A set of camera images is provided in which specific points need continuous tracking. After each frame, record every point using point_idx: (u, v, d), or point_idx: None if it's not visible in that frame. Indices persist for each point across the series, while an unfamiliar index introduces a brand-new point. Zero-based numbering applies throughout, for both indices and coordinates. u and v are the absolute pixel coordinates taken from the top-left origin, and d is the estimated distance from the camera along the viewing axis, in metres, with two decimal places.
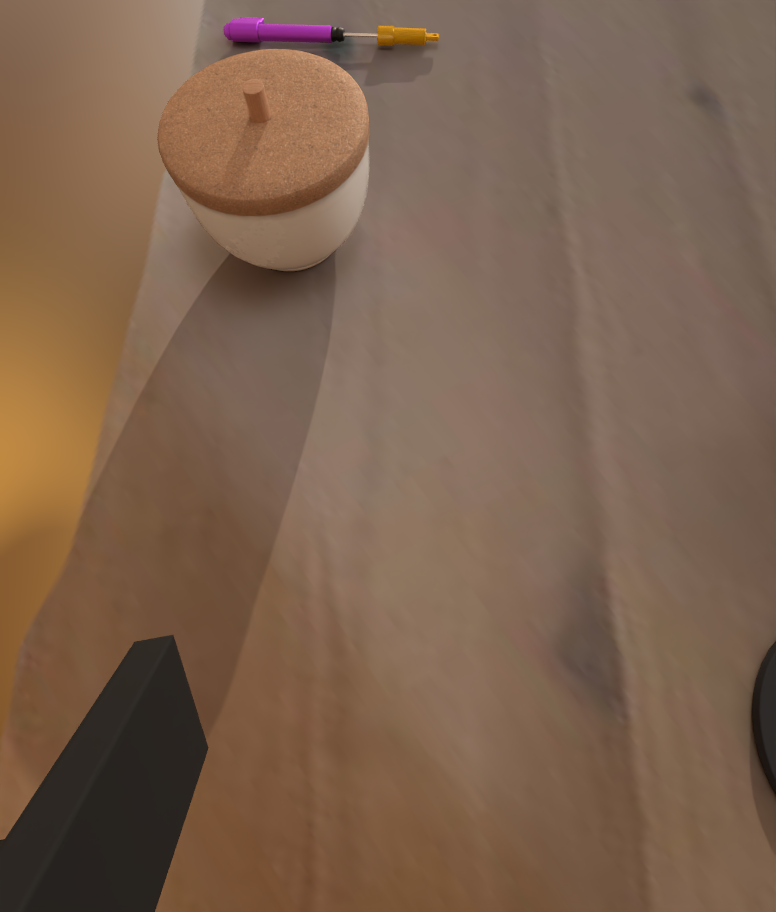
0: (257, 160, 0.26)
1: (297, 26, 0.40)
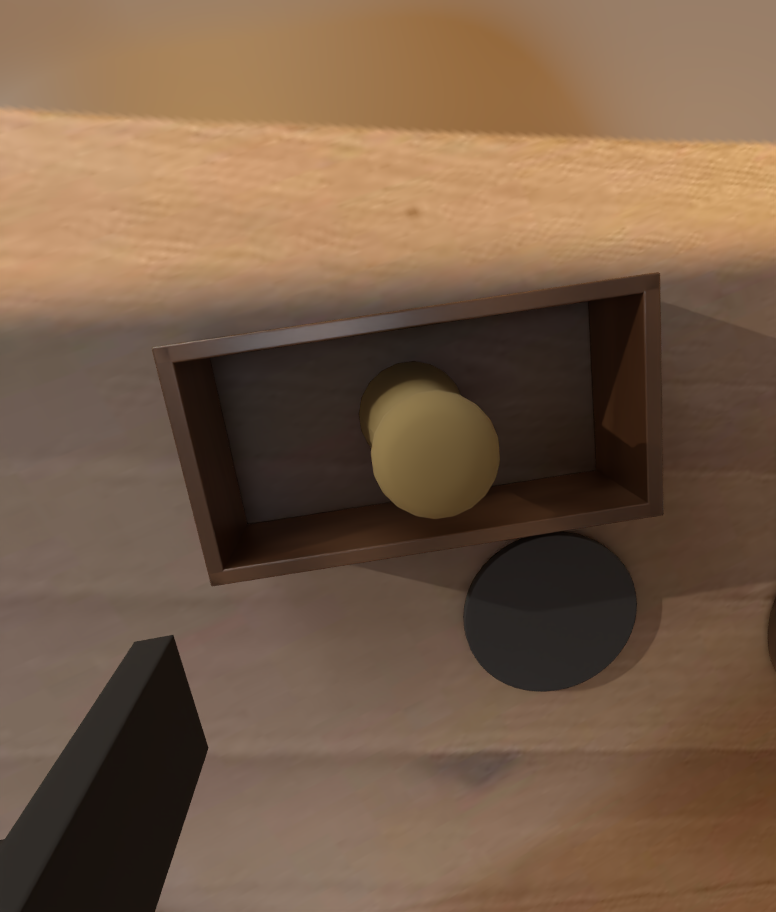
0: None
1: None
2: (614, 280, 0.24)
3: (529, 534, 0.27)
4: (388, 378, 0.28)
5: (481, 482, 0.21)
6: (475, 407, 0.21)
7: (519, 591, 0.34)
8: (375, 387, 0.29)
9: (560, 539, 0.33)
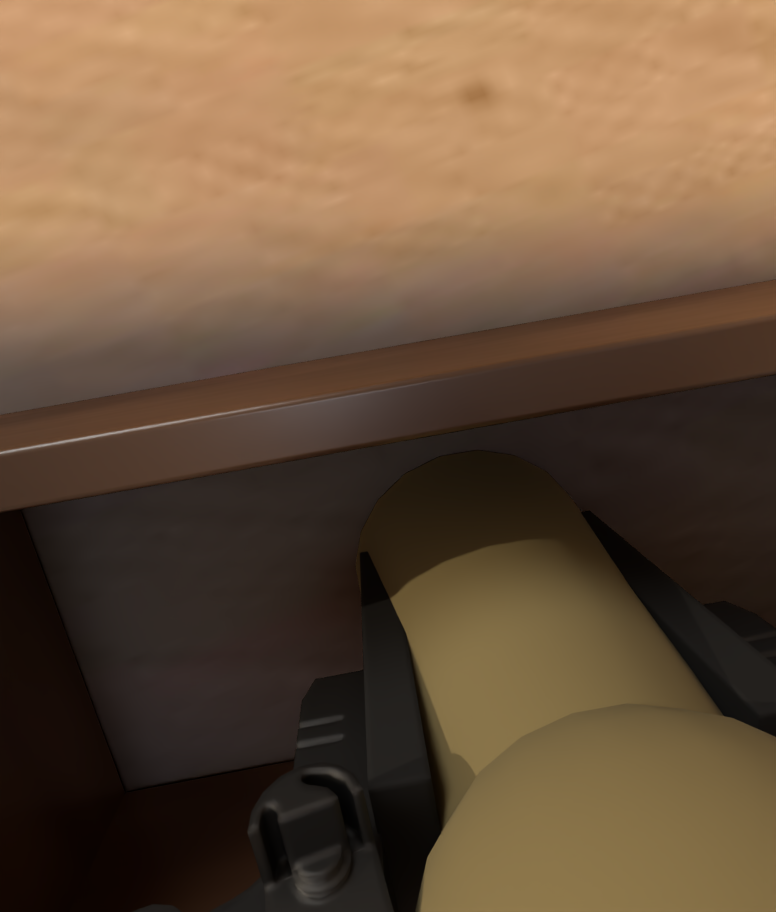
0: None
1: None
2: None
3: None
4: (426, 511, 0.11)
5: None
6: None
7: None
8: (393, 528, 0.12)
9: None
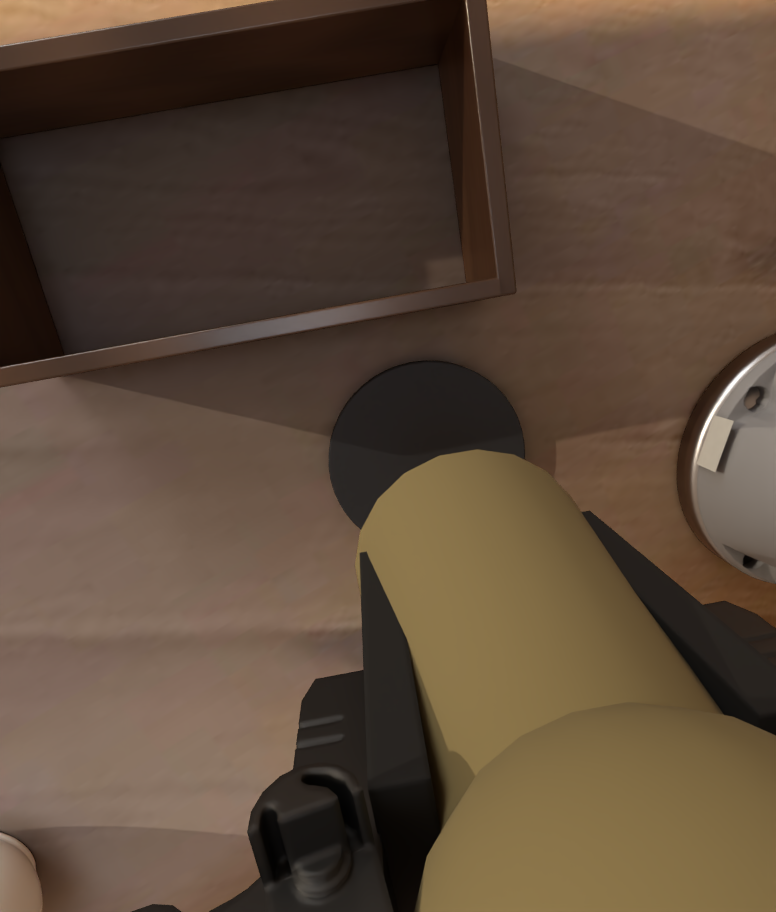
0: None
1: None
2: None
3: (358, 318, 0.23)
4: (426, 510, 0.11)
5: None
6: None
7: (388, 431, 0.29)
8: (393, 527, 0.12)
9: (430, 366, 0.29)
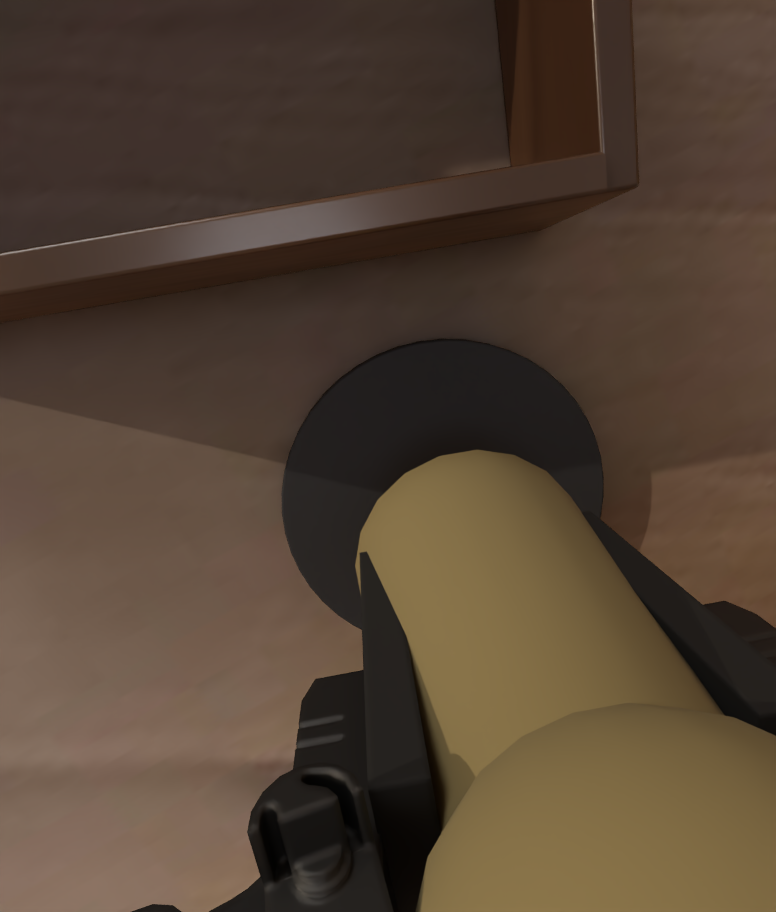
0: None
1: None
2: None
3: (311, 235, 0.11)
4: (426, 510, 0.11)
5: None
6: None
7: (380, 456, 0.18)
8: (393, 527, 0.12)
9: (451, 347, 0.17)
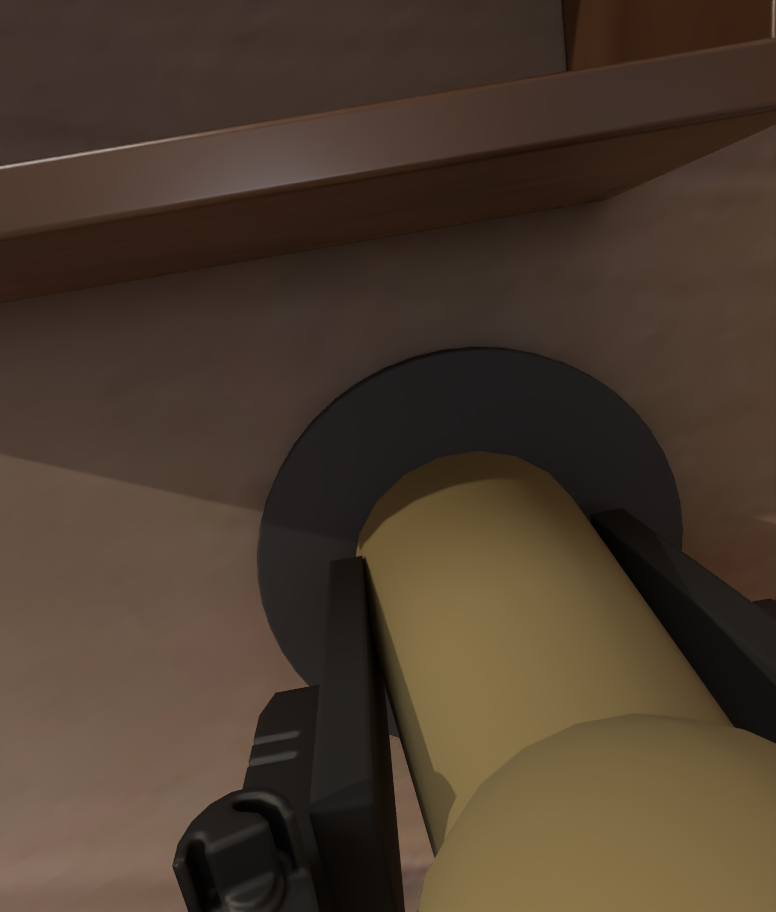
0: None
1: None
2: None
3: (281, 179, 0.06)
4: (426, 512, 0.11)
5: None
6: None
7: None
8: (392, 530, 0.12)
9: (486, 359, 0.13)
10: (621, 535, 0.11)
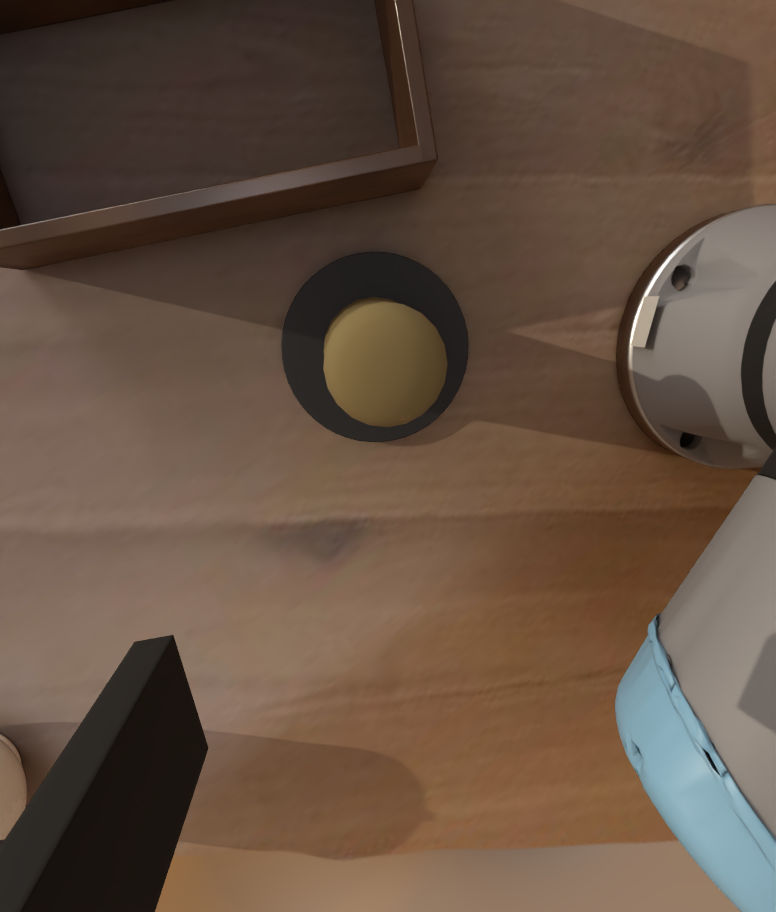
0: None
1: None
2: None
3: (290, 186, 0.24)
4: (347, 311, 0.29)
5: (428, 385, 0.22)
6: (419, 314, 0.22)
7: None
8: (335, 321, 0.30)
9: (373, 256, 0.30)
10: None
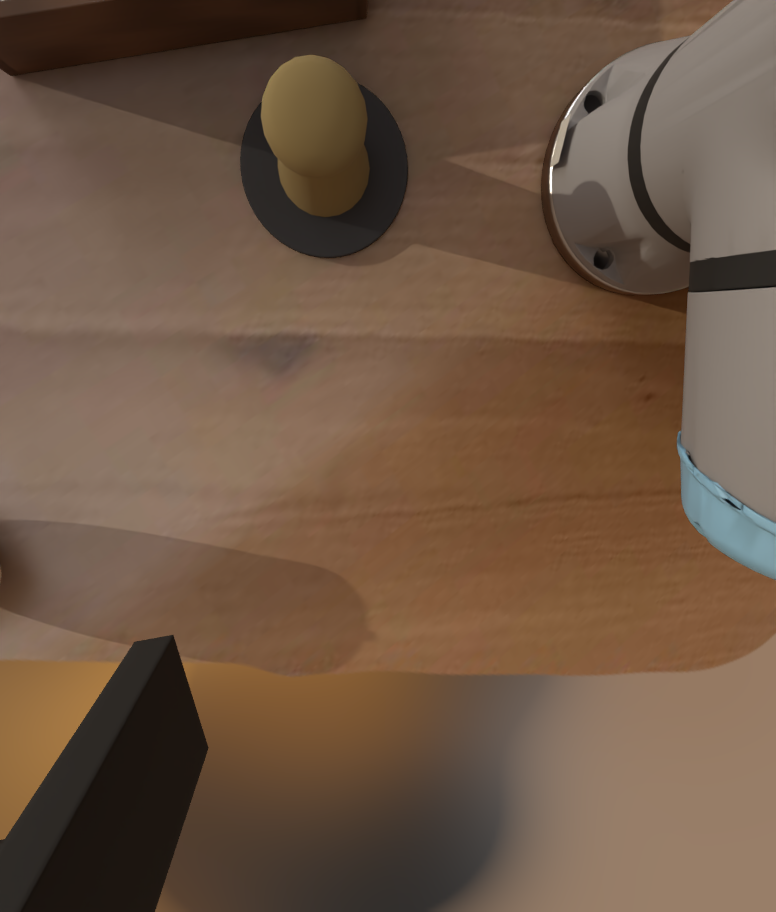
0: None
1: None
2: None
3: None
4: None
5: (347, 126, 0.26)
6: (341, 66, 0.26)
7: None
8: None
9: None
10: None
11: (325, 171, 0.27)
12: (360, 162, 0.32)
